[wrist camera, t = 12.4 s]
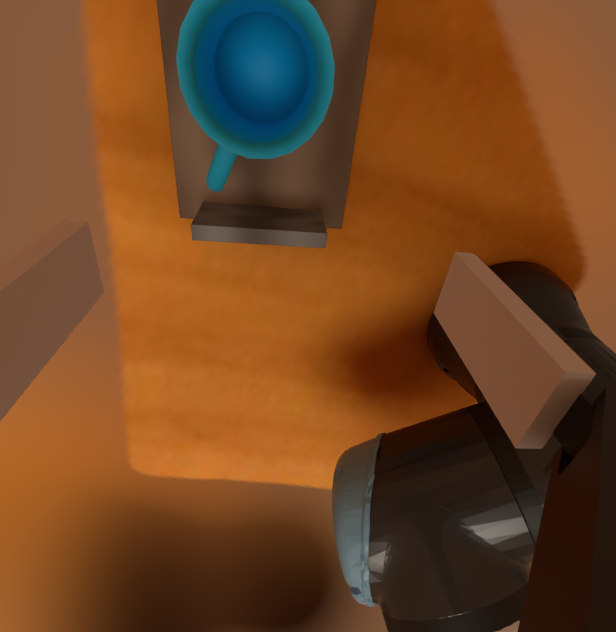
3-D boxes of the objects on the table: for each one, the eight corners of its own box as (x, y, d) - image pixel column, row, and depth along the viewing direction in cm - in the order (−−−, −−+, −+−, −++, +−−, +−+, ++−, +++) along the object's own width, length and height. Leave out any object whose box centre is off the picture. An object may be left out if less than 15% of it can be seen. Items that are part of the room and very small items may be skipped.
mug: (231, -38, 23) (211, -77, 16) (342, 43, 25) (365, 39, 19) (170, 147, 28) (136, 176, 22) (266, 197, 31) (262, 237, 24)
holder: (384, -69, 23) (411, -101, 18) (339, 225, 34) (349, 253, 29) (148, -105, 21) (112, -150, 17) (182, 214, 32) (165, 242, 27)
